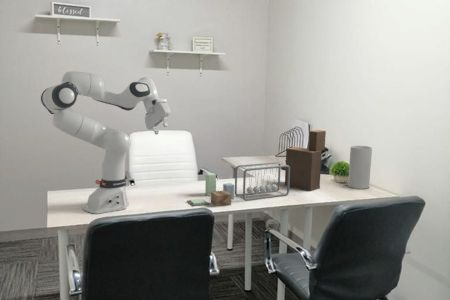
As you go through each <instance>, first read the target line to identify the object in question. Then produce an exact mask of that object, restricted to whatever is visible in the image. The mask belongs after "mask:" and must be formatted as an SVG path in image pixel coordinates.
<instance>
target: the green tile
mask: <svg viewBox="0 0 450 300" xmlns="http://www.w3.org/2000/svg"><path fill="white" fill-rule="evenodd" d="M186 203H188V204H189V205H190V206H192V207H198V206H199V207H200V206H201V207H202V206H207V205H208V206H209V205H210V203H209V202H208V201H207V200H206V199H204V198H194V199H189V200H186Z"/></svg>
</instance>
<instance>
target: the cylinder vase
mask: <svg viewBox="0 0 450 300" xmlns="http://www.w3.org/2000/svg"><path fill="white" fill-rule="evenodd" d="M349 153H350V154H349V168H348V179H347V185H348V187H349V188H351V189H355V190H366V189H368V188H370V179H371V165H372V153H373V147H372V146H368V145H351V146H350V151H349Z"/></svg>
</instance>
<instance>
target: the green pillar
mask: <svg viewBox="0 0 450 300" xmlns="http://www.w3.org/2000/svg"><path fill="white" fill-rule="evenodd" d="M215 191H217V174H216V173H213V172H209V173H205V195H206V196H208V197H211V192H215Z"/></svg>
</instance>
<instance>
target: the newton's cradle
mask: <svg viewBox="0 0 450 300" xmlns="http://www.w3.org/2000/svg"><path fill="white" fill-rule="evenodd" d="M270 165H271V166H270ZM261 166H262V167H261ZM286 167H288V182H287V186H286V193H283V192H281V191H279V190H280V188H281V169H282V168H286ZM239 168H242V169H244V171H243V180H242V181H243V184H242V187H243V188H242V193H240V194H238V190H237V189H238V169H239ZM269 169H270V172H269V173H271V171H272V173H274V171H273V169H276V170H275V171H277V169H278V171H277V172H278V175H277V184H275V181H276V180H273V182H272V184H271V185H270V183H269V180H270V178H271V176H268V177H269V179H268V177H266V179H267V180H266V181H267V184H266V185H264V184H261V185H260V186H258V185H255V186H254V187H252V185H249V187H246V179H247V177H246V176H247V175H246V174H247V172H250V171H262V170H269ZM253 174H254V176H255V177H254V178H256V176H257V177H259V175H260V173H257V174H258V175H256V172H254V173H252V175H251V176H253ZM265 174H266V171H264V174H263V175H265ZM263 175H262V174H261V177H260V178H261V180H262V182H265V181H264V180H265V178H263V179H262V177H263ZM248 176H249V179H248V181H249V184H251V182H252V180H253V179H250V175H248ZM275 177H276V174H275ZM258 181H259V180H256V184H258ZM289 182H290V167H289V166H288V165H286V164H282V163H280V161H274V162H263V163H262V162H261V163H250V164H240V165H237V166H236V167H235V169H234V196H236V197H240V198H242V199H243V201H246V202H247V201H255V200H256V201H257V200H263V199H272V198H276V197H277V198H278V197H286V196H288V195H289V193H290V186H289ZM267 193H280V194H275V195H274V194H273V195H267V196H266V195H265V196H259V197H250V198H249V197H248V198H246V196H253V195H258V194H259V195H261V194H267Z"/></svg>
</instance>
